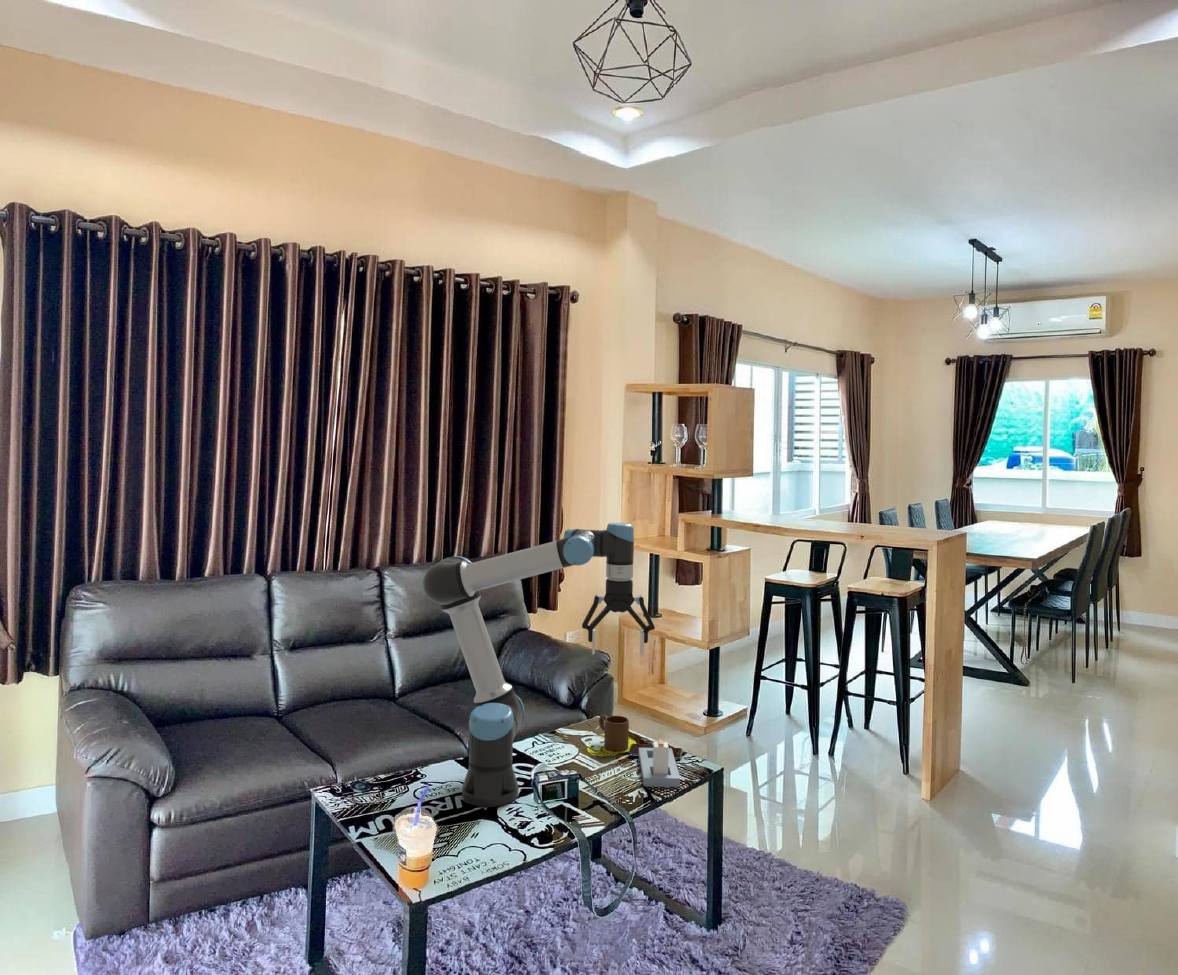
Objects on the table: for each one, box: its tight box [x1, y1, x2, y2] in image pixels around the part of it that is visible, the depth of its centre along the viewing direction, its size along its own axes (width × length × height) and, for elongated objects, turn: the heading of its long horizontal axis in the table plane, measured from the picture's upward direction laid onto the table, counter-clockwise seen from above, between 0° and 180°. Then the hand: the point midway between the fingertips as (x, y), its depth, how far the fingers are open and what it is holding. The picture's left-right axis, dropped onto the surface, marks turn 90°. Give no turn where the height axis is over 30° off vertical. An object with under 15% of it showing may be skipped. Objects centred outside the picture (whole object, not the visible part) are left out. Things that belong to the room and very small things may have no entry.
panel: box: [638, 747, 681, 788], centre depth 236 cm, size 10×22×3 cm, turn 0°
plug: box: [652, 739, 670, 775], centre depth 229 cm, size 4×4×11 cm
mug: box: [598, 714, 630, 753], centre depth 254 cm, size 12×8×9 cm, turn 39°
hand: (617, 653), depth 226 cm, fingers open, 13 cm apart
